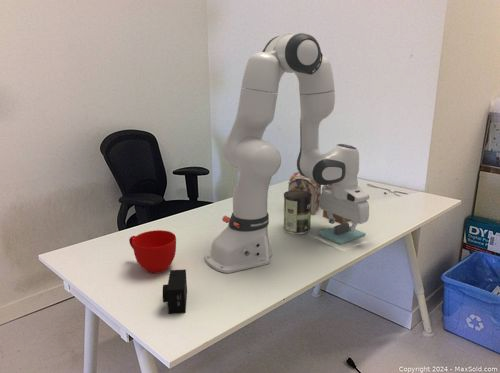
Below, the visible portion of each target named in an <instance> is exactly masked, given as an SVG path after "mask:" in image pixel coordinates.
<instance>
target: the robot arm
mask: <svg viewBox="0 0 500 373" xmlns="http://www.w3.org/2000/svg"><path fill="white" fill-rule="evenodd" d="M285 73H289V74H293V73H294V74H295V76H296V77H297V80H298V89H299V90H298V92H299V104H300V117H299V118H300V119H299V120H300V124H299V125H300V126H299V128H300V130H299V132H300V134H299V135H300V136H299V137H300V139H299V140H300V141H299V143H300V148H299V152H298V155H297V159H296V169H297V171H298V172H299V173H300V174H301V175H303V176H305V177H307V178H309V179H311V180H312V181H314V182H316V183H317V184H320V185H321V196H320V202H319V206H320V208H319V209H321V210H326V211H327V215H328V218H329V219H328V218H327V219H328V224H332V225H333V224H335V223H336V222H335V218H334V217H333V214H336V215H338V216H341V217H344V218H346V219H349V220H351V221H350V223H351V225H349V231H350V232H355V229H356V227H357V226H358V224H359V225H361V224H364V223H365V224H366V223H367V222H368V221H369V219H370V218H369V217H370V204H369V202H368V200H369V199H370V194H369V192H367V191H365V190H364V189H362V188H361V187H360V186H359V185H358V183H359V181H358V174H359V171H360V153H359V150H358V149H357V147H355V146H353V145H349V144H345V143H344V144H343V143H338V144H336V145H335V146H334V148H332V149H331V150H329V151H327V152H325V153H322V152H321V150H320V148H319V129H320V124H321V123H322V121H323V120H324V119H326V118H328V117H329V116H330V115H331V114H332V113H333V111H334V108H335V103H336V94H335V92H336V91H335V80H334V73H333V69H332V66H331V62H330V59H329V58H328V57H326V56H325V55H323V53H322V50H321V46H320V44H319V41H318V40H317V39H316V38H315V36H312V35H310V34H308V33H304V32H302V33H301V32H299V33H285V34H282V35H277V36H275V37H273V38H271V39H270V40H269V41H268V42H267V43H266V44H265V46H264V48H263V50H262V51H258V52H256V53H253V54H252V55H250V56H249V58H248V60H247V63H246V66H245V69H244V73H243V76H242V77H243V78H242V80H241V88H240V95H239V102H238V106H237V113H236V117H235V120H234V122H233V124H232V128H231V130H230V133H229V134H228V136H227V137H226V138H225V139H224V140H223V142H222V145H221V154H222V156H223V158H224V159H225V161H226V162H227V163H228V164H229V165H230V166H232V167H234V168H235V169H238V172H239V175H238V181H237V185H236V186H234V188H233V190H232V213H231V215H230V217H229V216H227V215H223V216H222V218H221V219H222V222H224V223H226V224H228V226H226V227H225V229H223V230H222V231H221V232H220V233H219V235H217V236H216V237H215V238H214V239H213V241H212V244H211V249H210V250H211V251H209V252H207V253H205V254H204V261H205V263H206V264H207V265H208V266H210V267H211V268H212V269H214V270H215V271H218V272H221V273H225V274H229V273H230V274H231V273H235V272H239V271H244V270H247V269H251V268H252V269H253V268H255V267H259V266H265V265H269V264H270V262H271V261H270V260H271V257H272V255H273V252H272V248H271V244H270V238H269V230H268V226H269V223H270V220H269V219H270V216H269V214H270V213H269V212H268V196H269V195H268V193H269V187H270V185H271V180H272V178H273V176H274V175H275V174H277V172H278V171H279V169H280V168H281V164H282V156H281V153H280V151H279V150H278V149H277V148H276V147H275V146H274V145H273V144H272V143H270V142H268V141H266V140H263V139H262V138H263V136H264V133H265V131H266V129H267V127H268V126H269V125H270V124H271V123H272V122H273V121H274V118H275V114H276V106H277V100H278V94H279V86H280V81H281V78H282V76H283V75H284V74H285ZM329 184H332V185H331V186H329ZM332 213H333V214H332Z"/></svg>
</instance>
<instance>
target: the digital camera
mask: <svg viewBox="0 0 500 373" xmlns="http://www.w3.org/2000/svg"><path fill="white" fill-rule="evenodd" d="M187 284H188V283H187V269H172V270H171V269H170V270H169V274H168V281H167V284H163V285H162V302H163V303H167V309H168V311H167V312H168V314H169V315H174V314H176V315H177V314H186V312H187V309H186V308H187V300H188V298H187V297H188V285H187Z"/></svg>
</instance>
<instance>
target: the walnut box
mask: <svg viewBox="0 0 500 373" xmlns="http://www.w3.org/2000/svg"><path fill="white" fill-rule="evenodd" d="M322 210H323V209H322ZM332 214H333V213H332ZM322 217H323V218H325V219H328V220H329V218H328V215H327V211H326V210H323V211H322ZM333 217H334V218H335V223H338V224H339V225H340V224H343V223H350V222H352V221H351V220H349V219H346V218H344V217H341V216H338V215H336V214H333Z"/></svg>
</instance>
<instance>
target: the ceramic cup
mask: <svg viewBox="0 0 500 373" xmlns="http://www.w3.org/2000/svg"><path fill="white" fill-rule="evenodd" d="M129 244H130V247H131V249H132V250H133V253H134V256H135V259H136V262H137V263H138V265H139V266H140V267H141V268H142V269H143V270H145V271H146V272H147V273H149V274H160V273H163V272H165V271H166V270H167V269H168V268H169V266H171V265H172V263H173V261H174V260H175V256H176V252H177V237H176V234H175V233H173V232H171V231H169V230H158V229H157V230H155V229H154V230H149V231H144V232H141V233H139V234H137V235H132V236H130V237H129Z"/></svg>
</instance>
